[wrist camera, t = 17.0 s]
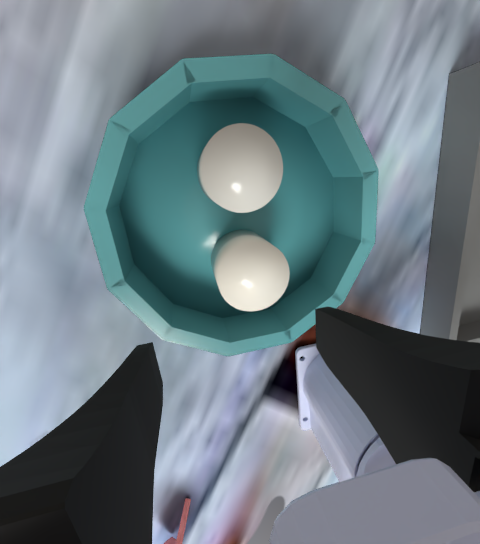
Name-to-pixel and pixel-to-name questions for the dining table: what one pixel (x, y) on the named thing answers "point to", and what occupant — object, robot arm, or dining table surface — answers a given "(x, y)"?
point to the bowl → (219, 221)
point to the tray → (456, 218)
